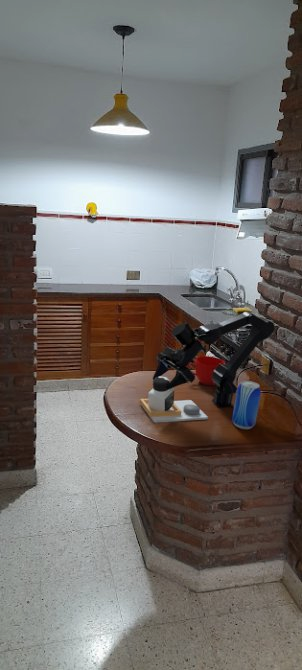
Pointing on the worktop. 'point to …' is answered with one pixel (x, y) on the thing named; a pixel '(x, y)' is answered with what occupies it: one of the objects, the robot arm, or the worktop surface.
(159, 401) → the medicine bottle
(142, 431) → the worktop surface
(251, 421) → the beer can
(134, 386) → the worktop surface
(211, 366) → the ceramic cup
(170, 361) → the robot arm
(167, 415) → the plate with orange frame
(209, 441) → the worktop surface
